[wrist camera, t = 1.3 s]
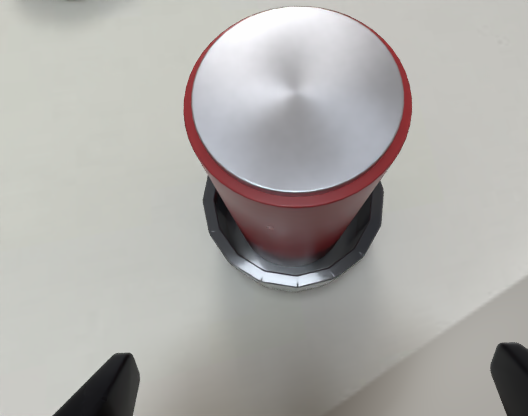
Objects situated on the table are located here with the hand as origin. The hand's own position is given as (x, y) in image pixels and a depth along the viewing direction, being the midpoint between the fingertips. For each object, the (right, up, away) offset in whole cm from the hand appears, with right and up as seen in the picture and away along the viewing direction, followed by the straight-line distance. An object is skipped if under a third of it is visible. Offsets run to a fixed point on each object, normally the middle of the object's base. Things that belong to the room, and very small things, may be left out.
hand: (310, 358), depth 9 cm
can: (+1, +3, +14) cm, 14 cm away
